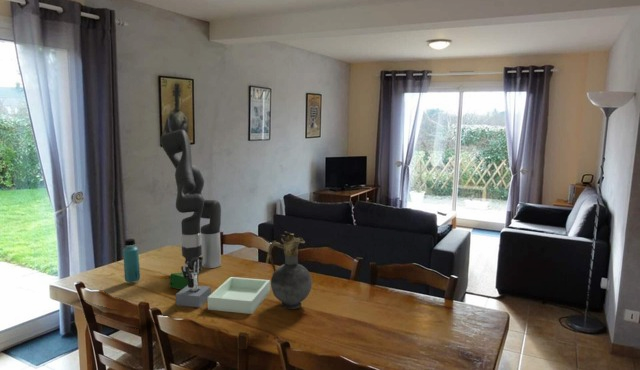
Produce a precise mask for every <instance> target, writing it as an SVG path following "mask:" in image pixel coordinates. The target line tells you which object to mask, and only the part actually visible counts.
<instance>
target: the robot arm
mask: <svg viewBox="0 0 640 370" xmlns="http://www.w3.org/2000/svg"><path fill="white" fill-rule="evenodd" d="M159 140H160V145H161V147H162V148H163V151H164V152H165V155H166V156H167V157H168V158H169V160H170V161H171V164H172V165H173V166H174V168H175V172H174V179H175V183H176V184H175V185H176V188H177V190H176V192H177V193H176V199H175V208H176V210H177V211H178V212H179V213H182V214H185V213H192V215H190V216H188V217H185V218H183V219H181V223H180V224H181V239H180V240H181V256H182V257H183V258H185V261H184V265H183V266H181V267H180V269H181V273H183V276H184V279H188V287H189V288H193V287H194V273H195V271H196V272H197V285H198V284H199V275H200V272H202V268H205V269H214V268H215V269H216V268H218V267H220V266H221V265H222V258H221V257H222V256H221V252H222V251H221V248H222V247H221V224H222V222H221V220H222V218H221V217H222V206H221V203H220V202H219V201H218V200H213V199H205V197H204V196H203V194H202V191H203V189H204V185H205V179H204V176H203V175H202V173H201V170H200V169H199V168H198V167H197V166H196V165H194V164H193V163H192V162H193V161H192V147H191V142H190V141H191V140H190V137H189V136H188V133H187V132H186V130H184V129H183V128H182V129H181V128H180V129H176V130H174V131H170V132H167V133H164V134H162V135H161V136H160V138H159ZM179 153H181V156H180V155H179ZM201 219H205V220H208V219H209V223H207V224H204V225H202V226H201ZM190 273H191V274H190Z"/></svg>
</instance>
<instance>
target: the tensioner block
mask: <svg viewBox="0 0 640 370" xmlns="http://www.w3.org/2000/svg"><path fill="white" fill-rule="evenodd" d="M211 294H212V286H205V285H198V292H196V293H191V292H189V287H188V285H187V286H186V287H185V288H183V289H182V290H179V291H178V292H177V293H175V305H176V306H182V307H192V308H201V307H202V306H203V305H204V304H205V303H206V302H208V296H209V295H211Z"/></svg>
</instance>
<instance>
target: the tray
mask: <svg viewBox="0 0 640 370" xmlns="http://www.w3.org/2000/svg"><path fill="white" fill-rule="evenodd" d="M270 292H271V279H262V278H261V279H260V278H247V277H236V276H230V277H229V278H228V279H226V280H225V281H224V282H223V283H221V285H220V286H218V287H217V288H216V289H214V290H213V292H211V295H209V296H208V300H207V310H208V311H209V310H210V311H220V312H228V313H229V312H231V313H238V314H239V313H240V314H249V315H253V314H254V312H255V311H256V310H257V309H258V307H259V306H260V305H261V303H263V301H264V300H265V298H266V297H268V295H269V294H270Z"/></svg>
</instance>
